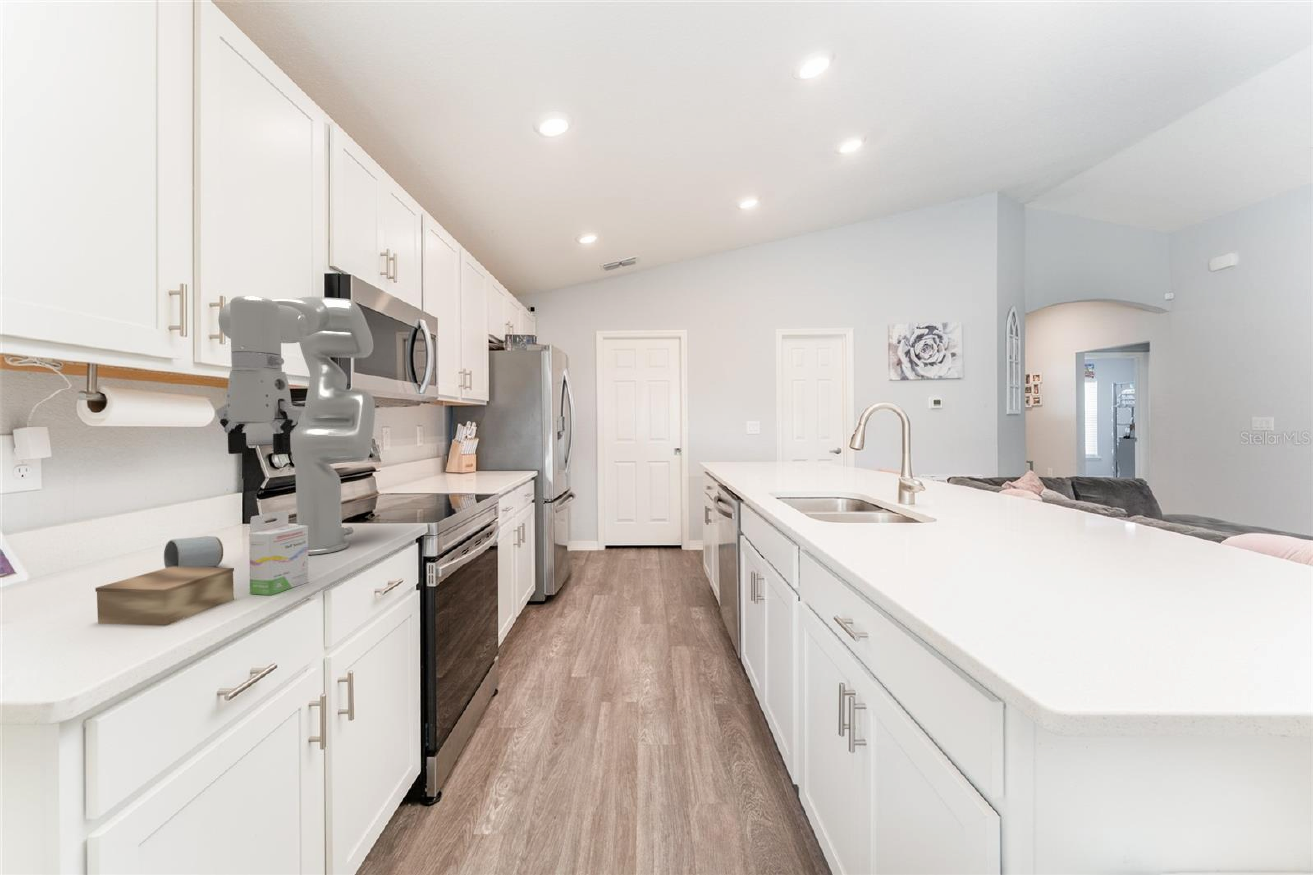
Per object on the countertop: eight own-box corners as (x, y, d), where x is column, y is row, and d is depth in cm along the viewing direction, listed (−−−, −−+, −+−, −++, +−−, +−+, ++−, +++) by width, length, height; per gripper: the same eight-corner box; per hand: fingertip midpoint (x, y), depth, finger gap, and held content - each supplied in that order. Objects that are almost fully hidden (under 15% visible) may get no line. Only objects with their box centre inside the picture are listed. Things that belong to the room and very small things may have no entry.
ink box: (270, 596, 95) (268, 518, 95) (248, 594, 96) (246, 516, 96) (310, 581, 104) (309, 509, 103) (290, 580, 105) (288, 509, 104)
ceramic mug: (226, 568, 113) (225, 534, 113) (179, 578, 106) (178, 541, 105) (202, 563, 118) (201, 530, 117) (155, 572, 110) (154, 537, 110)
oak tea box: (173, 598, 95) (172, 566, 94) (234, 600, 94) (233, 567, 93) (96, 625, 82) (95, 587, 82) (165, 627, 81) (164, 589, 81)
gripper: (313, 365, 99) (316, 453, 100) (236, 366, 101) (239, 451, 102) (280, 361, 91) (282, 456, 92) (197, 362, 94) (200, 454, 95)
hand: (259, 453), depth 97 cm, fingers open, 9 cm apart
